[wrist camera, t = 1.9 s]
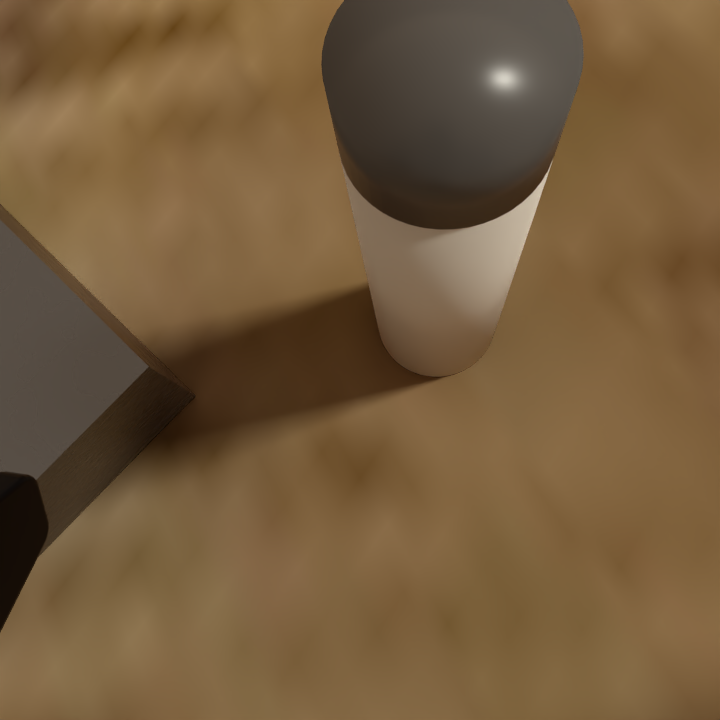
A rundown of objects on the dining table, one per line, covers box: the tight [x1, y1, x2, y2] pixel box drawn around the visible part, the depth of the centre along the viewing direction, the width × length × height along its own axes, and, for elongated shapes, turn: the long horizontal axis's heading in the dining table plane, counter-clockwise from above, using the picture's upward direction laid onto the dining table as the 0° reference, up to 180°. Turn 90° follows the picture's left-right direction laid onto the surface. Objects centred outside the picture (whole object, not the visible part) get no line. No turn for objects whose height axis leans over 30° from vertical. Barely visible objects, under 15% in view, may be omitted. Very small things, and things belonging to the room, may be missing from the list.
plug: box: [322, 0, 583, 377], centre depth 16 cm, size 4×4×13 cm
